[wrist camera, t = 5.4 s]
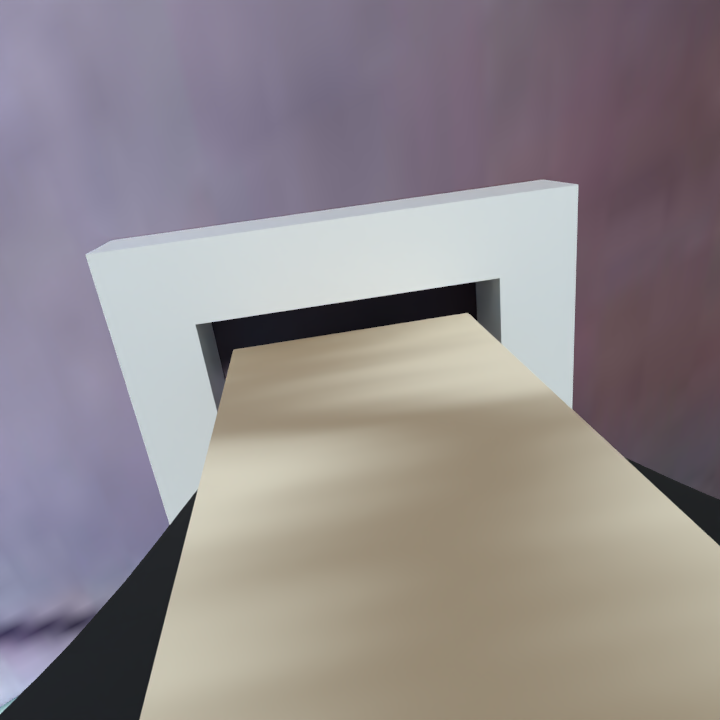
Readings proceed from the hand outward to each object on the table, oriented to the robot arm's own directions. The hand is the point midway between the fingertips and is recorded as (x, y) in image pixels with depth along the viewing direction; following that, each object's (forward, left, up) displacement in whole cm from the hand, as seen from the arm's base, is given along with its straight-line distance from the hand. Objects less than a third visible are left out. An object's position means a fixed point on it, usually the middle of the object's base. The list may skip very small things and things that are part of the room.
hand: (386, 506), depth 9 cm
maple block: (0, 0, -2) cm, 2 cm away
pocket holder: (0, 0, -4) cm, 4 cm away
